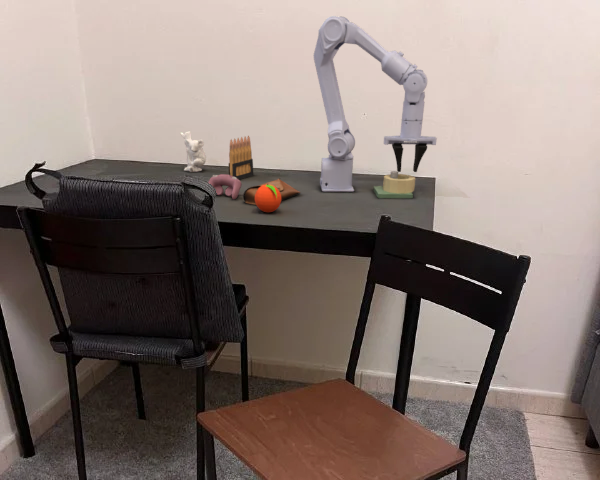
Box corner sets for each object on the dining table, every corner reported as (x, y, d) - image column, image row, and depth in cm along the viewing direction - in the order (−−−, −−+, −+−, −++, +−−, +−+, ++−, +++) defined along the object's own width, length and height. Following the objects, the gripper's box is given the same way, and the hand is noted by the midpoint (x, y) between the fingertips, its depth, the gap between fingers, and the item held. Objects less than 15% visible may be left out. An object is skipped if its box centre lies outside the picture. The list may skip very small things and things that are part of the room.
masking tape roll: (385, 193, 176) (386, 180, 174) (381, 186, 183) (382, 173, 181) (416, 193, 176) (417, 180, 174) (410, 186, 183) (411, 174, 182)
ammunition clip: (233, 181, 192) (231, 139, 186) (228, 180, 193) (226, 139, 186) (253, 175, 200) (252, 135, 193) (249, 174, 200) (247, 134, 194)
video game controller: (240, 203, 175) (244, 177, 174) (234, 198, 170) (238, 173, 170) (209, 199, 177) (212, 175, 177) (202, 195, 173) (206, 170, 172)
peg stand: (378, 198, 176) (379, 175, 172) (373, 190, 184) (374, 168, 181) (412, 198, 176) (415, 175, 173) (406, 190, 185) (408, 168, 181)
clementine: (288, 214, 159) (288, 185, 156) (265, 217, 156) (265, 189, 153) (272, 207, 165) (272, 179, 161) (250, 210, 162) (249, 182, 158)
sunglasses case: (268, 205, 165) (257, 181, 163) (250, 215, 169) (239, 192, 168) (302, 192, 178) (292, 170, 176) (284, 202, 182) (274, 180, 181)
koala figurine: (177, 171, 203) (174, 131, 197) (191, 167, 208) (188, 129, 202) (197, 174, 200) (194, 134, 193) (210, 170, 205) (208, 131, 198)
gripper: (388, 121, 166) (384, 174, 173) (441, 122, 167) (435, 174, 174) (384, 118, 172) (380, 168, 179) (435, 118, 173) (429, 169, 180)
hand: (406, 171), depth 177 cm, fingers open, 4 cm apart
